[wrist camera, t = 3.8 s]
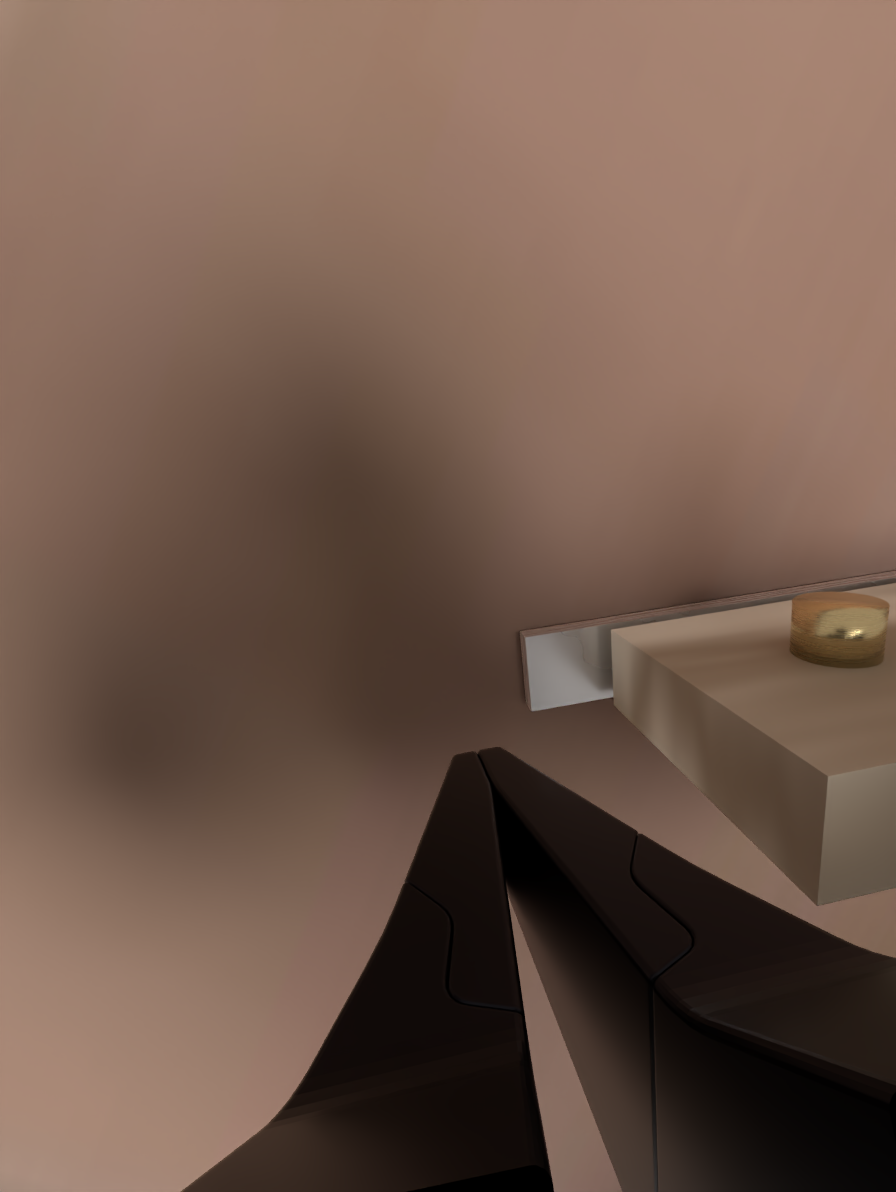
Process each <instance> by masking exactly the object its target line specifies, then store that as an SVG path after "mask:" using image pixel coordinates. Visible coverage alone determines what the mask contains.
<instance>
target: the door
mask: <svg viewBox="0 0 896 1192" xmlns="http://www.w3.org/2000/svg"><path fill="white" fill-rule="evenodd" d="M611 647H612V673H613V698H614V706H615V707H616V708H617V709H618V710H619V711H620V712H621V713H622V714H623V715H624V716H625V717H626V718H627V719H628V720H629V721H630V722H631V723H632V724H633V725H634V726H635V727H636V728H637V729H638V730H639V731H640V732H641V733H642V734H643V735H644V736H645V737H646V738H647V739H648V740H650V741H651V742H652V743H653V744H654V745H655V746H656V747H657V748H658V749H659V750H660V751H661V752H662V753H663V754H664V755H665V756H666V757H667V758H668V759H669V760H670V761H671V762H672V763H673V764H674V765H675V766H676V767H677V768H678V769H679V770H680V771H681V772H682V773H683V774H684V775H685V776H686V777H687V778H688V779H689V780H690V781H691V782H692V783H693V784H694V785H695V786H696V787H697V788H698V789H699V790H700V791H701V792H702V793H703V794H704V795H705V796H706V797H707V798H708V799H709V800H710V801H711V802H712V803H713V804H714V805H715V806H716V807H717V808H718V809H719V810H720V811H721V812H722V813H723V814H724V815H725V816H726V817H728V818H729V819H730V820H731V821H732V822H733V823H734V824H735V825H736V826H737V827H738V828H739V829H740V830H741V831H742V832H743V833H744V834H745V835H746V836H747V837H748V838H749V839H750V840H751V841H752V842H753V843H754V844H755V845H756V846H757V847H758V848H759V849H760V850H761V851H762V852H763V853H764V854H765V855H766V856H767V857H768V858H769V859H770V860H771V861H772V862H773V863H774V864H775V865H776V866H777V867H778V868H779V869H780V870H781V871H782V872H783V873H784V874H785V875H786V876H787V877H788V878H789V879H790V880H791V881H792V882H793V883H794V884H795V885H796V886H797V887H798V888H799V889H800V890H801V891H802V892H803V893H805V894H806V895H807V896H808V897H809V898H810V899H811V900H812V901H813V902H814V903H815V904H816V905H817V906H819V905H824V904H828V903H832V902H837V901H841V900H845V899H849V898H854V897H858V896H862V895H867V894H871V893H875V892H879V891H884V890H888V889H892V888H896V583H892V584H886V585H880V586H874V587H868V588H862V589H856V590H850V591H844V592H813V593H806V594H801V595H798V596H796V597H794V598H793V599H792V600H789V601H783V602H777V603H770V604H764V605H758V606H752V607H746V608H740V609H734V610H728V611H722V612H716V613H710V614H703V615H697V616H691V617H685V618H679V619H673V620H667V621H661V622H655V623H649V624H642V625H636V626H630V627H624V628H618V629H612V630H611Z"/></svg>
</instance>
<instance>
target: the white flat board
mask: <svg viewBox="0 0 896 1192" xmlns="http://www.w3.org/2000/svg"><path fill="white" fill-rule="evenodd" d="M892 583H896V571H890V572H884V573H878V574H872V575H865V576H859V577H853V578H847V579H841V580H834V581H828V582H822V583H816V584H810V585H803V586H797V587H791V588H785V589H779V590H772V591H766V592H760V593H754V594H748V595H741V596H735V597H729V598H723V599H717V600H710V601H704V602H698V603H692V604H686V605H679V606H673V607H667V608H661V609H655V610H648V611H642V612H636V613H630V614H624V615H617V616H611V617H605V618H599V619H592V620H586V621H580V622H574V623H568V624H561V625H555V626H549V627H543V628H537V629H530V630H524V631H520V641H521V653H522V664H523V675H524V687H525V698H526V704H527V705H528V707H529V708H530V710H531V712H532V711H538V710H544V709H549V708H555V707H560V706H566V705H572V704H577V703H583V702H589V701H594V700H600V699H605V698H611V697H613V673H612V647H611V630H612V629H618V628H624V627H630V626H636V625H642V624H649V623H655V622H661V621H667V620H673V619H679V618H685V617H691V616H697V615H703V614H710V613H716V612H722V611H728V610H734V609H740V608H746V607H752V606H758V605H764V604H770V603H777V602H783V601H789V600H792V599H793V598H794V597H796V596H798V595H801V594H806V593H813V592H844V591H850V590H856V589H862V588H868V587H874V586H880V585H886V584H892Z"/></svg>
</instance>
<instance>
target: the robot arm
mask: <svg viewBox="0 0 896 1192" xmlns="http://www.w3.org/2000/svg"><path fill="white" fill-rule="evenodd" d="M507 892H508V894H507ZM508 895H509V898H510V901H511V903H512V906H513V909H514V911H515V914H516V916H517V919H518V921H519V924H520V927H521V929H522V932H523V934H524V937H525V940H526V942H527V945H528V947H529V950H530V953H531V955H532V958H533V960H534V963H535V966H536V968H537V971H538V973H539V976H540V979H541V981H542V984H543V986H544V989H545V991H546V994H547V997H548V999H549V1002H550V1004H551V1007H552V1010H553V1012H554V1015H555V1017H556V1020H557V1023H558V1025H559V1028H560V1030H561V1033H562V1036H563V1038H564V1041H565V1043H566V1046H567V1048H568V1051H569V1054H570V1056H571V1059H572V1061H573V1064H574V1067H575V1069H576V1072H577V1074H578V1077H579V1080H580V1082H581V1085H582V1087H583V1090H584V1093H585V1095H586V1098H587V1100H588V1103H589V1106H590V1108H591V1111H592V1113H593V1116H594V1118H595V1121H596V1124H597V1126H598V1129H599V1131H600V1134H601V1137H602V1139H603V1142H604V1144H605V1147H606V1150H607V1152H608V1155H609V1157H610V1160H611V1163H612V1165H613V1168H614V1170H615V1173H616V1175H617V1178H618V1181H619V1183H620V1186H621V1188H622V1191H623V1192H896V958H893V957H889V956H886V955H882V954H878V953H875V952H872V951H869V950H866V949H864V948H861V947H858V946H856V945H853V944H851V943H849V942H847V941H845V940H843V939H840V938H838V937H836V936H834V935H832V934H830V933H828V932H826V931H824V930H822V929H820V928H818V927H816V926H814V925H812V924H810V923H808V922H806V921H804V920H802V919H800V918H798V917H796V916H794V915H792V914H790V913H788V912H786V911H784V910H782V909H780V908H778V907H776V906H774V905H772V904H770V903H768V902H766V901H764V900H762V899H760V898H758V897H756V896H754V895H752V894H750V893H748V892H746V891H744V890H742V889H740V888H738V887H736V886H734V885H732V884H730V883H728V882H726V881H724V880H722V879H720V878H719V877H717V876H715V875H713V874H711V873H709V872H707V871H705V870H703V869H701V868H699V867H698V866H696V865H694V864H692V863H690V862H688V861H687V860H685V859H683V858H682V857H680V856H678V855H676V854H675V853H673V852H671V851H670V850H668V849H666V848H664V847H663V846H661V845H659V844H658V843H656V842H654V841H653V840H651V839H650V838H648V837H646V836H645V835H643V834H638V832H637V831H636V830H635V829H633V828H631V827H630V826H628V825H626V824H625V823H623V822H621V821H620V820H618V819H617V818H615V817H613V816H612V815H610V814H608V813H607V812H605V811H604V810H602V809H600V808H599V807H597V806H595V805H594V804H592V803H591V802H589V801H587V800H586V799H584V798H582V797H581V796H579V795H578V794H576V793H574V792H573V791H571V790H569V789H568V788H566V787H565V786H563V785H561V784H560V783H558V782H556V781H555V780H553V779H551V778H550V777H548V776H547V775H545V774H543V773H542V772H540V771H538V770H537V769H535V768H534V767H532V766H530V765H529V764H527V763H525V762H524V761H522V760H521V759H519V758H517V757H516V756H514V755H512V754H511V753H509V752H508V751H506V750H504V749H503V748H501V747H493V748H488V749H483V750H480V751H479V752H478V754H477V753H476V752H473V751H472V752H467V753H461V754H456V755H455V756H454V757H453V759H452V761H451V764H450V766H449V769H448V771H447V774H446V776H445V779H444V782H443V784H442V787H441V789H440V792H439V794H438V797H437V799H436V802H435V805H434V807H433V810H432V812H431V815H430V817H429V820H428V823H427V825H426V828H425V830H424V833H423V835H422V838H421V840H420V843H419V846H418V848H417V851H416V853H415V856H414V858H413V861H412V863H411V866H410V869H409V871H408V874H407V876H406V879H405V883H404V884H403V886H402V888H401V891H400V894H399V896H398V899H397V901H396V904H395V906H394V909H393V911H392V913H391V915H390V918H389V920H388V922H387V925H386V927H385V929H384V931H383V934H382V936H381V938H380V940H379V942H378V943H377V945H376V947H375V949H374V951H373V953H372V955H371V957H370V959H369V961H368V963H367V965H366V967H365V969H364V970H363V972H362V974H361V976H360V978H359V979H358V981H357V983H356V985H355V987H354V988H353V990H352V992H351V994H350V996H349V997H348V999H347V1001H346V1003H345V1005H344V1007H343V1008H342V1010H341V1012H340V1014H339V1016H338V1017H337V1019H336V1021H335V1023H334V1025H333V1026H332V1028H331V1030H330V1032H329V1034H328V1035H327V1037H326V1039H325V1041H324V1043H323V1044H322V1046H321V1048H320V1050H319V1052H318V1054H317V1055H316V1057H315V1059H314V1061H313V1063H312V1064H311V1066H310V1068H309V1070H308V1071H307V1073H306V1075H305V1076H304V1078H303V1080H302V1081H301V1083H300V1084H299V1086H298V1087H297V1089H296V1090H295V1092H294V1093H293V1095H292V1096H291V1097H290V1099H289V1100H288V1101H287V1103H286V1104H285V1105H284V1106H283V1108H282V1109H281V1110H280V1111H279V1113H278V1114H277V1115H276V1116H275V1117H274V1118H273V1119H272V1120H271V1121H270V1122H269V1123H268V1124H267V1125H266V1126H265V1127H264V1128H263V1129H261V1130H260V1131H259V1132H258V1133H257V1134H255V1135H254V1136H253V1137H251V1138H250V1139H249V1140H248V1141H246V1142H245V1143H244V1144H242V1145H241V1146H240V1147H238V1148H237V1149H236V1150H234V1151H233V1152H232V1153H231V1154H229V1155H228V1156H227V1157H225V1158H224V1159H223V1160H221V1161H220V1162H219V1163H218V1164H216V1165H215V1166H214V1167H212V1168H211V1169H210V1170H208V1171H207V1172H206V1173H204V1174H203V1175H202V1176H201V1177H199V1178H198V1179H197V1180H195V1181H194V1182H193V1183H191V1184H190V1185H189V1186H188V1187H186V1188H185V1189H184V1190H182V1191H181V1192H554V1188H553V1182H552V1176H551V1170H550V1165H549V1159H548V1154H547V1148H546V1142H545V1137H544V1131H543V1126H542V1120H541V1114H540V1109H539V1103H538V1098H537V1092H536V1086H535V1081H534V1075H533V1069H532V1062H531V1056H530V1049H529V1042H528V1035H527V1028H526V1022H525V1014H524V1007H523V1000H522V993H521V986H520V979H519V972H518V965H517V957H516V950H515V943H514V936H513V929H512V922H511V915H510V908H509V901H508Z"/></svg>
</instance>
